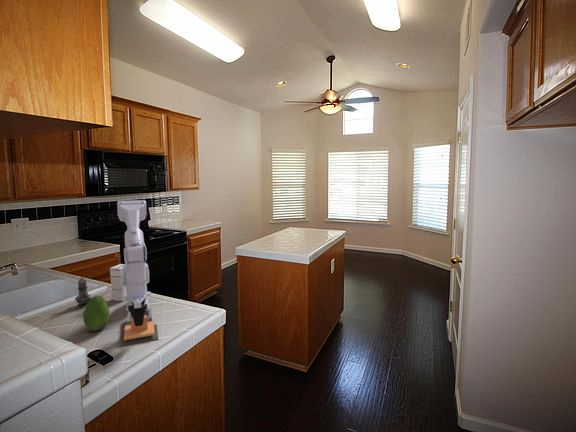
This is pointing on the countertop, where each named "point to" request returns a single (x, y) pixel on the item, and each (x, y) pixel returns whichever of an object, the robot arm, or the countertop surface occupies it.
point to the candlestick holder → (82, 294)
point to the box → (147, 312)
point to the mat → (139, 340)
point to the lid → (139, 329)
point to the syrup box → (117, 283)
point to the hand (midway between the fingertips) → (139, 320)
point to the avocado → (96, 313)
